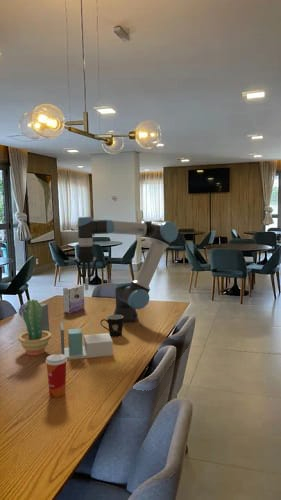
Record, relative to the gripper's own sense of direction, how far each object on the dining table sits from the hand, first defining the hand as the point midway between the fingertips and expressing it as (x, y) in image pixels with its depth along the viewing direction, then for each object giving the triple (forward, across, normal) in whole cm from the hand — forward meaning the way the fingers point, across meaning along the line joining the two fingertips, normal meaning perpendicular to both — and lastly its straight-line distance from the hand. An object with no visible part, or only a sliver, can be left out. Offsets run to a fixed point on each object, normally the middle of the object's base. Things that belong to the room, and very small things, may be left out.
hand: (86, 289), depth 205 cm
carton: (+18, -6, -28) cm, 34 cm away
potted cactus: (+25, -27, -20) cm, 42 cm away
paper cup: (+25, -18, -65) cm, 72 cm away
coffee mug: (+25, +13, -6) cm, 28 cm away
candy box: (+25, -4, +48) cm, 54 cm away
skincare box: (+25, -25, +7) cm, 36 cm away
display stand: (+24, -4, -28) cm, 37 cm away
